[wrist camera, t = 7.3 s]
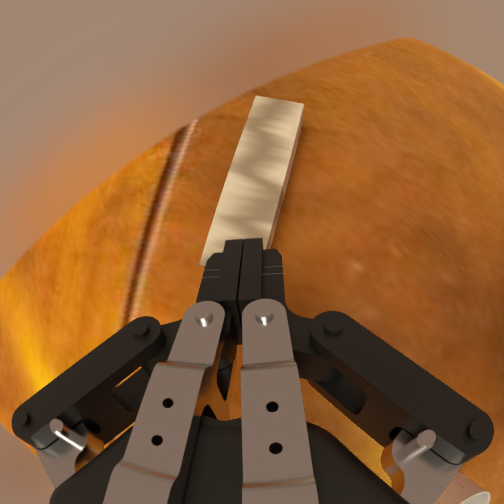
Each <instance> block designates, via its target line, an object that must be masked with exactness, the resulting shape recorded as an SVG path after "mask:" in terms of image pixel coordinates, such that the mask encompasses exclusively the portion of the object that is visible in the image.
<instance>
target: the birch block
mask: <svg viewBox="0 0 504 504" xmlns="http://www.w3.org/2000/svg"><path fill="white" fill-rule="evenodd" d="M303 109H304V104H301V103H296V102H290V101H285V100H280V99H274V98H268V97H261V96H256V97H255V100H254V103H253V105H252V108H251V111H250V113H249V116H248V119H247V122H246V124H245V127H244V130H243V133H242V135H241V138H240V141H239V144H238V147H237V149H236V152H235V155H234V158H233V161H232V164H231V167H230V170H229V173H228V175H227V178H226V181H225V184H224V187H223V190H222V193H221V197H220V200H219V203H218V206H217V209H216V212H215V215H214V218H213V221H212V225H211V228H210V231H209V234H208V237H207V241H206V244H205V247H204V251H203V254H202V257H201V261H200V264H199V265H201V266H203V267H205V266H206V262H207V260H208V259H209V258H210V257H211V255H212V254H213V253H218V252H223V249H224V245H225V241H226V240H232V239H246V238H263V247H264V250H265V249H270V248H271V245H272V241H273V237H274V234H275V230H276V226H277V222H278V219H279V215H280V211H281V207H282V203H283V200H284V196H285V192H286V188H287V184H288V180H289V176H290V173H291V169H292V165H293V161H294V157H295V153H296V149H297V145H298V141H299V137H300V133H301V129H302V119H303Z"/></svg>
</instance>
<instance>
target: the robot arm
mask: <svg viewBox="0 0 504 504" xmlns="http://www.w3.org/2000/svg"><path fill="white" fill-rule="evenodd" d="M240 344H243V367H241V417H242V418H238V419H233V420H230V413H229V404H230V398H231V392H232V387H233V381H234V376H235V370H236V364H237V359H236V353H237V345H240ZM140 366H141V367H142V368H141V369H140V370H138V371H137V372H136V373H134V374H133V375H132V376H131V377H129V378H128V379H127V380H126V381H124V382H123V383H122V384H121V385H119V386H118V387H115V386H116V385H117V384H118V383H120V382H121V381H122V380H124V379H125V378H126V377H127V376H129V375H130V374H131V373H132V372H134V371H135V370H136V369H137V368H139V367H140ZM299 378H304V379H307V380H308V382H309V384H310V385H311V386H312V387H314V388H315V389H316V390H317V391H318V392H319V393H320V394H321V395H323V396H324V397H325V398H326V399H327V400H328V401H329V402H330V403H332V404H333V405H334V406H335V407H336V408H337V409H338V410H340V411H341V412H342V413H343V414H344V415H345V416H347V417H348V418H349V419H350V420H351V421H352V422H354V423H355V424H356V425H357V426H358V427H360V428H361V429H362V430H363V431H364V432H366V433H367V434H368V435H369V436H370V437H372V438H373V439H374V440H375V441H377V442H378V443H379V444H380V445H382V446H383V447H384V450H383V452H382V455H381V464H382V467H383V469H384V471H385V472H386V473H387V474H388V475H389V477H390V478H391V481H392V488H391V487H390V486H389V485H387V484H386V483H385V482H384V481H383V480H382V479H380V478H379V477H378V476H377V475H376V474H375V473H374V472H372V471H371V470H370V469H369V468H368V467H367V466H366V465H365V464H364V463H362V462H361V461H360V460H359V459H358V458H357V457H356V456H355V455H354V454H353V453H352V452H350V451H349V450H348V449H347V448H346V447H345V446H344V445H343V444H342V443H341V442H340V441H339V440H338V439H337V438H336V437H335V436H333V435H332V434H331V433H329V432H328V431H327V430H325V429H323V428H321V427H319V426H317V425H314V424H312V423H308V422H306V419H305V412H304V406H303V399H302V393H301V386H300V380H299ZM114 387H115V388H114ZM133 422H135V423H134V425H133V426H132V427H130V428H129V429H128V430H127V431H126V432H124V433H123V434H122V435H121V436H120V437H118V438H117V439H116V440H115V441H114V442H113V443H111V444H110V445H109V446H108V447H107V448H105V449H104V445H105V444H107V443H108V442H109V441H111V440H112V439H113V438H114V437H116V436H117V435H118V434H120V433H121V432H122V431H123V430H125V429H126V428H127V427H128V426H130V425H131V424H132V423H133ZM12 429H13V432H14V433H15V435H16V436H17V437H19V438H20V439H22V440H23V441H25V442H26V443H28V444H29V445H31V446H32V447H33V448H34V449H35V450H36V452H37V454H38V456H39V458H40V460H41V462H42V464H43V466H44V468H45V470H46V472H47V474H48V476H49V478H50V480H51V482H52V484H53V485H54V487H55V490H54V492H53V493H52V495H51V498H50V502H49V504H434V503H435V502H436V500H437V499H438V498H439V497H440V495H441V494H442V493H443V491H444V490H445V489H446V487H447V486H448V485H449V483H450V482H451V481H452V479H453V478H454V476H455V475H456V473H457V472H458V470H459V469H460V467H461V466H462V465H463V464H464V463H465V462H467V461H469V460H470V459H472V458H474V457H476V456H477V455H479V454H481V453H482V452H484V451H485V450H486V449H487V448H488V447H489V445H490V443H491V442H492V439H493V434H494V427H493V423H492V420H491V419H490V417H489V416H488V415H487V414H486V413H485V412H484V411H482V410H481V409H479V408H478V407H477V406H475V405H474V404H472V403H471V402H469V401H468V400H467V399H465V398H464V397H462V396H461V395H460V394H458V393H457V392H455V391H454V390H453V389H451V388H450V387H448V386H447V385H445V384H444V383H443V382H441V381H440V380H438V379H437V378H436V377H434V376H433V375H431V374H430V373H429V372H427V371H426V370H424V369H423V368H421V367H420V366H419V365H417V364H416V363H414V362H413V361H412V360H410V359H409V358H407V357H406V356H404V355H403V354H402V353H400V352H399V351H397V350H396V349H394V348H393V347H392V346H390V345H389V344H387V343H386V342H385V341H383V340H382V339H380V338H379V337H377V336H376V335H375V334H373V333H372V332H370V331H369V330H367V329H366V328H365V327H363V326H362V325H360V324H359V323H358V322H356V321H355V320H353V319H352V318H350V317H349V316H347V315H346V314H344V313H341V312H337V311H327V312H323V313H321V314H319V315H317V316H316V317H315V318H314V319H309V318H304V317H300V316H298V315H296V314H294V313H292V312H291V311H290V310H289V309H288V308H287V306H286V304H285V295H284V281H283V267H282V256H281V255H280V253H279V252H278V251H277V250H276V249H265V250H264V247H263V238H246V239H232V240H226V241H225V245H224V249H223V252H218V253H213V254H212V255H211V257H210V258H209V259H208V260H207V262H206V266H205V271H204V273H203V278H202V281H201V285H200V289H199V293H198V296H197V300H196V304H194V305H192V306H191V307H189V308H188V309H187V311H186V312H185V314H184V316H183V319H181V320H179V321H175V322H172V323H168V324H164V325H160V323H159V321H158V320H157V319H155V318H153V317H149V316H144V317H139V318H137V319H135V320H133V321H131V322H130V323H129V324H127V325H126V326H125V327H123V328H122V329H121V330H119V331H118V332H117V333H115V334H114V335H112V336H111V337H110V338H108V339H107V340H106V341H104V342H103V343H102V344H100V345H99V346H98V347H96V348H95V349H94V350H92V351H91V352H90V353H88V354H87V355H86V356H84V357H83V358H82V359H80V360H79V361H78V362H76V363H75V364H74V365H72V366H71V367H70V368H68V369H67V370H66V371H64V372H63V373H62V374H61V375H59V376H58V377H57V378H55V379H54V380H53V381H51V382H50V383H49V384H47V385H46V386H45V387H44V388H42V389H41V390H40V391H38V392H37V393H36V394H34V395H33V396H32V397H31V398H29V399H28V400H27V401H25V402H24V403H23V404H22V405H20V406H19V407H18V408H17V409H16V410H15V412H14V414H13V417H12Z"/></svg>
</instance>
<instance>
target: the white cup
mask: <svg viewBox="0 0 504 504" xmlns="http://www.w3.org/2000/svg"><path fill="white" fill-rule="evenodd" d="M489 501H490V493H489V492H487V491H486V490H485V489H483V488H482V487H480V486H479V485H478V484H476V483H475V482H474V481H472V480H471V479H470V478H468V477H467V476H465V475H464V474H462V473H461V472H459V471H458V472H457V473H456V475H455V476H454V478H453V479H452V481H451V482H450V483H449V485H448V486H447V487H446V489H445V490H444V491H443V493H442V494H441V495H440V497H439V498H438V499H437V500H436V502H435V503H434V504H489Z"/></svg>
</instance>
